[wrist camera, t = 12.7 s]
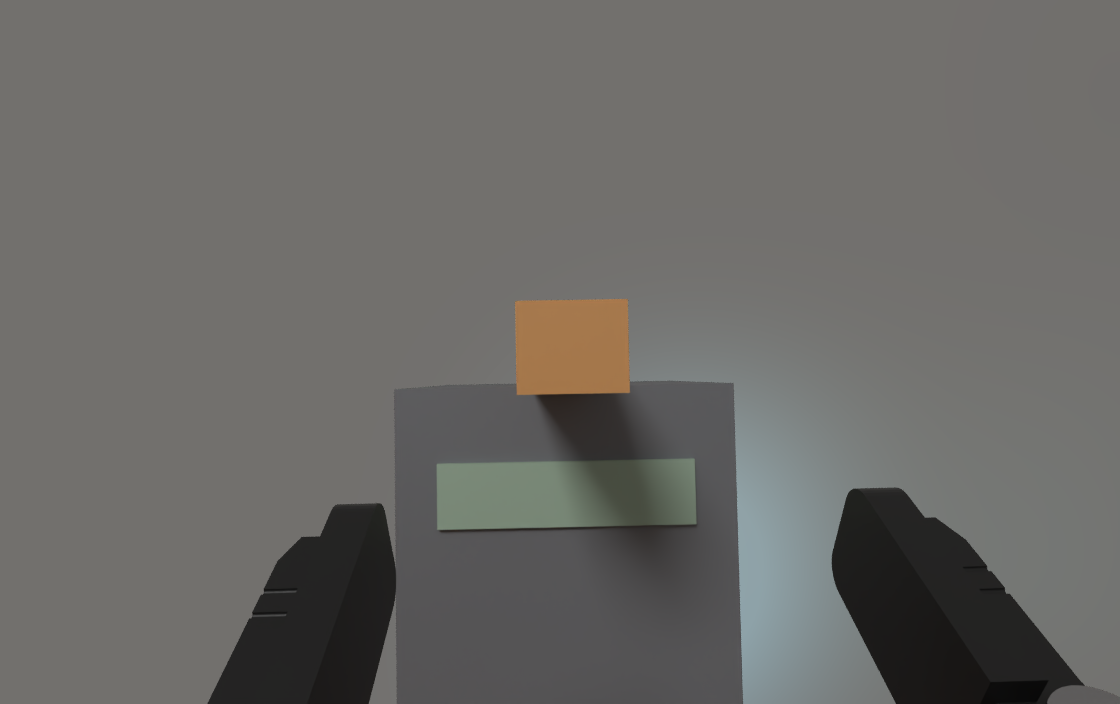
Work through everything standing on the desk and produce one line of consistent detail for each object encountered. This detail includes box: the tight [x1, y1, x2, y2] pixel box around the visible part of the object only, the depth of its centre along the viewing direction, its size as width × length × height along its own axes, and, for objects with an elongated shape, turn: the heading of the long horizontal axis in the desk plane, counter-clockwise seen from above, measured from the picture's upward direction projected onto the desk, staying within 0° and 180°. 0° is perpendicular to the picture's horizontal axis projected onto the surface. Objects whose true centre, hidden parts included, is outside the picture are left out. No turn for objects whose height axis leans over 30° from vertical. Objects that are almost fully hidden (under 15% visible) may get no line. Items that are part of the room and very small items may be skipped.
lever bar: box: [515, 299, 630, 395], centre depth 31 cm, size 29×4×4 cm, turn 1°
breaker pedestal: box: [394, 381, 743, 704], centre depth 37 cm, size 16×16×32 cm
